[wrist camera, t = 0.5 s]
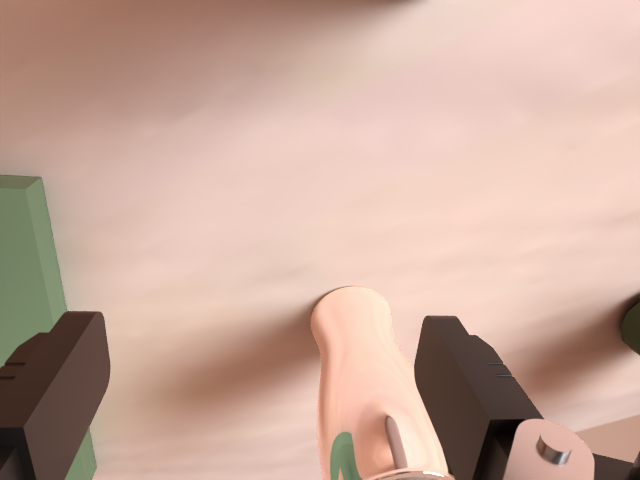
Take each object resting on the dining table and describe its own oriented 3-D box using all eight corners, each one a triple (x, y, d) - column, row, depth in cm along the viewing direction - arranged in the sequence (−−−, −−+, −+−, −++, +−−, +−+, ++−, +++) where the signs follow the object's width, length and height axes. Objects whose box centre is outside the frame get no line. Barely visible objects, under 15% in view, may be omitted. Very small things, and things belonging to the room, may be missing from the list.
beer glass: (339, 369, 36) (380, 579, 23) (285, 315, 33) (295, 520, 20) (412, 323, 35) (501, 518, 21) (362, 262, 32) (429, 446, 18)
